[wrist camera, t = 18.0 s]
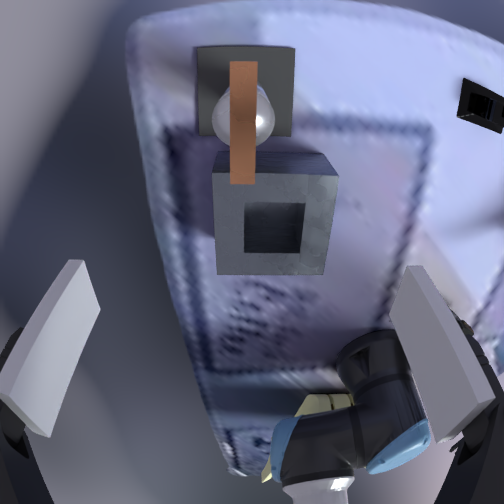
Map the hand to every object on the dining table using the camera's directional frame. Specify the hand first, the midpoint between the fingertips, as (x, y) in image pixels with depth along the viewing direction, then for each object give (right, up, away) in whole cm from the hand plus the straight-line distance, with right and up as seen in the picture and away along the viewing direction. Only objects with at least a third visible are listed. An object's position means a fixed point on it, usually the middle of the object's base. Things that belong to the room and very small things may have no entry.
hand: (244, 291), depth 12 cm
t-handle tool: (0, +18, +18) cm, 26 cm away
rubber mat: (0, +19, +18) cm, 26 cm away
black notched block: (+31, +21, +18) cm, 41 cm away
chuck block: (+2, +8, +26) cm, 27 cm away
